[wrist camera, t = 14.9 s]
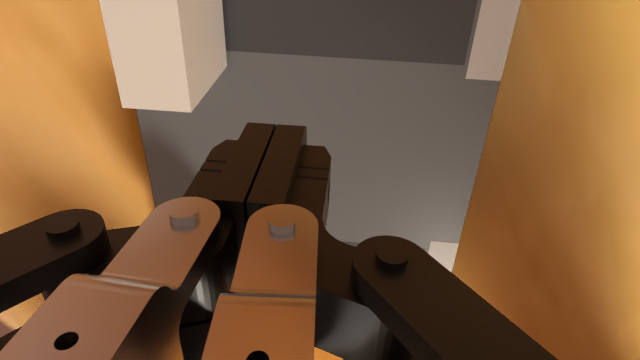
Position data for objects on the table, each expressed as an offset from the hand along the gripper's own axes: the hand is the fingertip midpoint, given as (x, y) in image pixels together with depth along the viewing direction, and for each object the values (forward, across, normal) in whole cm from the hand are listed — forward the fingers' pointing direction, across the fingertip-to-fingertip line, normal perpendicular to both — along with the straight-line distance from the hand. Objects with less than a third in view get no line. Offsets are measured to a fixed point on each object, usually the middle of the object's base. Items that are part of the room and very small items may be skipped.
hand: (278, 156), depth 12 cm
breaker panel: (+15, +1, +8) cm, 17 cm away
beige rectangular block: (+13, +6, 0) cm, 14 cm away
